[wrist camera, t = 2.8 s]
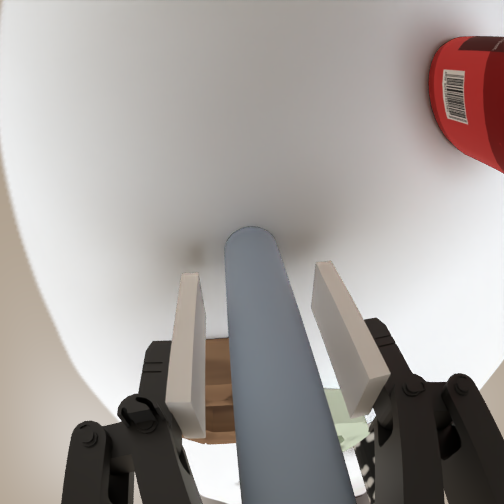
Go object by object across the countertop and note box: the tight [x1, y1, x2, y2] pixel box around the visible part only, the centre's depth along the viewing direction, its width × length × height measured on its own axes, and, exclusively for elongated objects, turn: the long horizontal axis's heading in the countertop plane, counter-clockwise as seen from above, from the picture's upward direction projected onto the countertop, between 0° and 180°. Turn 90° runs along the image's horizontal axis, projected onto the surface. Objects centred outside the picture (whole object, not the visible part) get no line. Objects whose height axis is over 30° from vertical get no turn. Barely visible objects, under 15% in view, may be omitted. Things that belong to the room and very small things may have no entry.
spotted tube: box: [353, 422, 375, 504], centre depth 26 cm, size 8×8×20 cm
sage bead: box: [324, 389, 370, 452], centre depth 27 cm, size 10×10×4 cm
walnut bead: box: [182, 338, 236, 444], centre depth 21 cm, size 10×10×4 cm
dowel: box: [225, 227, 357, 504], centre depth 10 cm, size 3×3×16 cm
